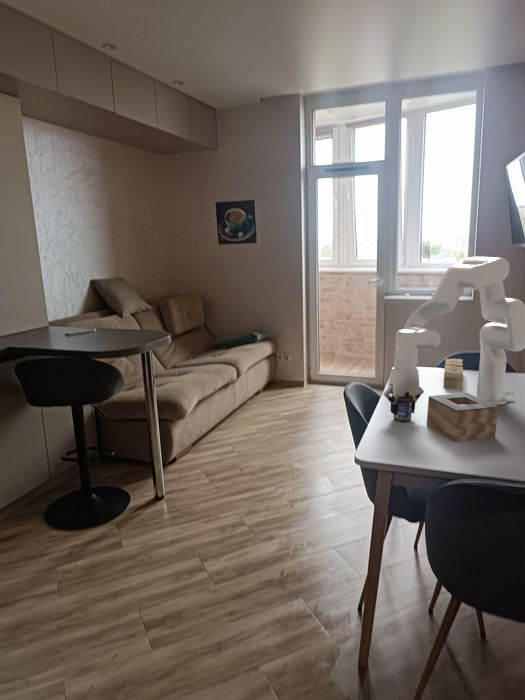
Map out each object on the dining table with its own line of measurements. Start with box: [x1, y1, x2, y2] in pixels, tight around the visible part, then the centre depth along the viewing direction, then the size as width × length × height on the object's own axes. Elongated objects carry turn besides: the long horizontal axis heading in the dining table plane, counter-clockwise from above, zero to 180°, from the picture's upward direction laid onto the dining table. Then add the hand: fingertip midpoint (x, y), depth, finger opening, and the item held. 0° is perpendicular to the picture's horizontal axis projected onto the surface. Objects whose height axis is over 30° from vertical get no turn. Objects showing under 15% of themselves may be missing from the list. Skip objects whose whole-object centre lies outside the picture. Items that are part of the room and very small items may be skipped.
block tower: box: [443, 358, 464, 390], centre depth 223 cm, size 8×8×29 cm
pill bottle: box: [393, 392, 412, 423], centre depth 174 cm, size 6×6×11 cm
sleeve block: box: [426, 392, 499, 443], centre depth 163 cm, size 15×15×11 cm
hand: (402, 412), depth 175 cm, fingers closed on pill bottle, 6 cm apart
